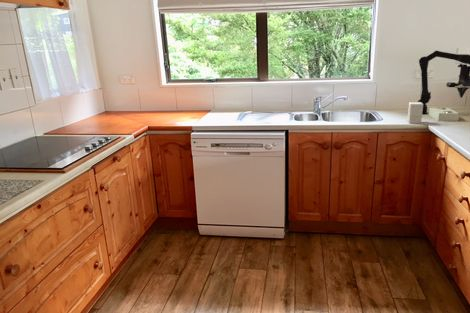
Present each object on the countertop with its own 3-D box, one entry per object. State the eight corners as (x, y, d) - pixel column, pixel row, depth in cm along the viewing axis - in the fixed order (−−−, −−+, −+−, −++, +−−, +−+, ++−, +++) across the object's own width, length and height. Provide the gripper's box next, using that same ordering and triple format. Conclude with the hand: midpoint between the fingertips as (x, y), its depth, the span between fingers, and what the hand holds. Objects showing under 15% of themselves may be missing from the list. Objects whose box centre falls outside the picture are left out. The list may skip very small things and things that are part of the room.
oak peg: (439, 115, 250) (440, 108, 249) (437, 114, 254) (438, 107, 253) (445, 115, 250) (446, 108, 248) (443, 114, 253) (444, 107, 252)
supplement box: (418, 121, 239) (421, 102, 235) (421, 123, 232) (423, 104, 229) (406, 121, 241) (408, 102, 237) (408, 123, 234) (410, 103, 231)
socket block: (438, 120, 238) (439, 113, 237) (428, 114, 257) (429, 107, 256) (458, 120, 236) (459, 113, 235) (447, 114, 255) (448, 107, 253)
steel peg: (445, 119, 239) (446, 112, 238) (443, 118, 243) (444, 111, 241) (452, 119, 238) (453, 112, 237) (449, 118, 242) (450, 111, 241)
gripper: (453, 75, 237) (450, 99, 241) (485, 75, 233) (481, 99, 238) (447, 73, 247) (444, 96, 252) (478, 73, 243) (474, 96, 248)
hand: (461, 97), depth 247 cm, fingers closed
